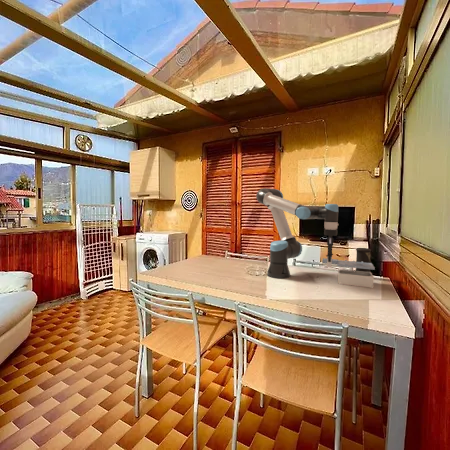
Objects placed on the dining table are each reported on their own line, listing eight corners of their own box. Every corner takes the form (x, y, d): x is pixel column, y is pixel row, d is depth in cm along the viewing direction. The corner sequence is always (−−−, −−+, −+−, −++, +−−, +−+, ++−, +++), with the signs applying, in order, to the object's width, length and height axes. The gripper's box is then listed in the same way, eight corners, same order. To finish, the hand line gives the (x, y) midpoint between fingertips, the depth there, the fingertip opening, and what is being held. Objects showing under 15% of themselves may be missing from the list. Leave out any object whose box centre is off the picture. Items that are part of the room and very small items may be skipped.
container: (372, 279, 159) (373, 249, 158) (357, 279, 161) (358, 248, 160) (367, 276, 168) (368, 247, 167) (353, 275, 170) (354, 246, 168)
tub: (338, 285, 148) (338, 273, 147) (337, 280, 159) (338, 269, 158) (373, 289, 140) (373, 276, 140) (370, 283, 151) (370, 272, 151)
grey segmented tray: (322, 264, 150) (322, 260, 150) (322, 260, 162) (323, 257, 162) (374, 269, 139) (374, 265, 139) (371, 265, 151) (371, 261, 151)
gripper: (337, 230, 144) (335, 269, 145) (337, 228, 160) (335, 264, 161) (323, 229, 147) (322, 268, 148) (324, 227, 163) (323, 262, 164)
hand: (329, 266), depth 155 cm, fingers closed on grey segmented tray, 4 cm apart
